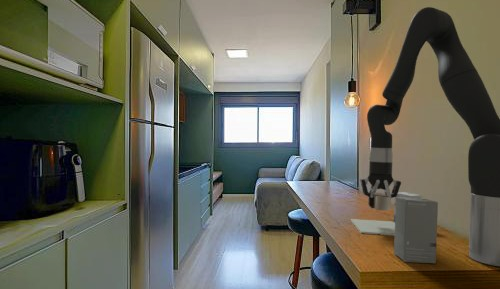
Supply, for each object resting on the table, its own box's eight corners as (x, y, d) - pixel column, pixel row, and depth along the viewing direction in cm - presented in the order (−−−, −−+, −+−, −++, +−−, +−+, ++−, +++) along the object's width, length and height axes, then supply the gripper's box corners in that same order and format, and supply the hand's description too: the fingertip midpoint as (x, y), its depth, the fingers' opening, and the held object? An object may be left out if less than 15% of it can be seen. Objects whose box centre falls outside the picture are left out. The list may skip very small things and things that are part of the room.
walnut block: (381, 192, 114) (390, 197, 103) (380, 204, 114) (390, 210, 103) (368, 191, 114) (376, 196, 104) (368, 203, 114) (376, 209, 104)
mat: (393, 223, 117) (393, 221, 117) (411, 236, 99) (411, 235, 99) (350, 220, 119) (350, 218, 119) (360, 233, 101) (360, 231, 101)
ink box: (393, 221, 119) (394, 192, 119) (403, 221, 121) (404, 191, 121) (410, 227, 111) (411, 195, 111) (421, 226, 113) (422, 195, 113)
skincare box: (403, 262, 76) (405, 200, 76) (392, 252, 83) (393, 195, 83) (438, 264, 75) (440, 201, 75) (423, 254, 82) (425, 196, 83)
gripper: (362, 160, 105) (361, 209, 105) (405, 162, 103) (404, 211, 103) (357, 159, 113) (356, 205, 113) (398, 161, 111) (396, 207, 111)
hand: (379, 208), depth 108 cm, fingers closed on walnut block, 4 cm apart
